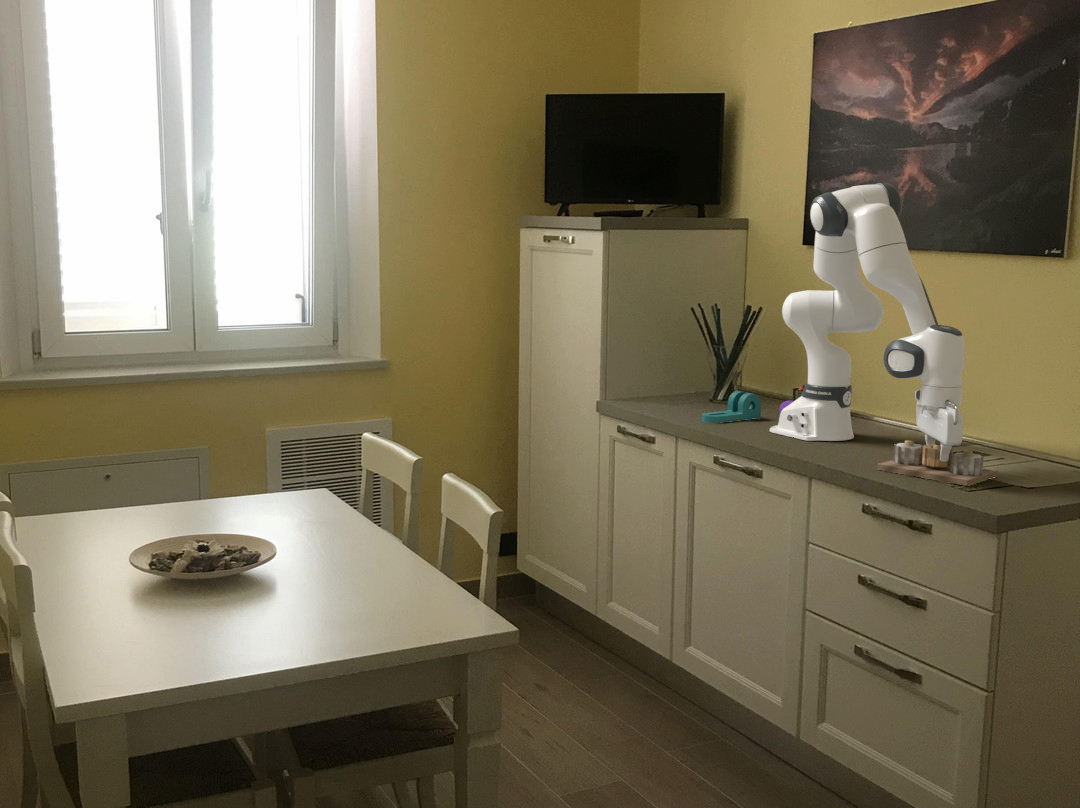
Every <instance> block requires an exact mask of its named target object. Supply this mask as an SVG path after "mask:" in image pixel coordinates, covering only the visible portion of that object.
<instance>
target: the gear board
mask: <svg viewBox="0 0 1080 808" xmlns="http://www.w3.org/2000/svg"><path fill="white" fill-rule="evenodd" d="M933 448H938V449H941V446H940V444H935V445H934V446H933ZM922 451H923V444H919V443H918V444H917V443H915V441H914V440H909V439H908V440H906V439H905V440H904V442H898V443H894V444H893V453H892V454H893V456H892V457H893V458H892V459H890V460H886V461H883V462H879V463H876V471H879V470H882V471H881V472H884V471H887V472H886V473H890V472H892V473H891V474H895V473H898V474H897V475H900V474H904V475H903V476H906V475H910V476H909V477H911V476H916V477H921V478H927V479H933V480H938V481H944V482H949V483H957V484H963V485H969V484H972V483H975V482H978V481H981V480H985V479H989V478H993V477H997V478H998V473H999V472H998V470H994V469H987V468H984V459H985V457H984V456H983V455H982V454H980V453H973V452H974V451H973V450H969V449H963V450H962V452H961V451H960V452H955V453H953V454H952V461H951V467H950V466H948V467H931V466H927V465H923V464H922ZM916 477H915V478H916ZM921 478H920V479H921ZM927 479H926V480H927Z"/></svg>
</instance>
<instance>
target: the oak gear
mask: <svg viewBox="0 0 1080 808" xmlns="http://www.w3.org/2000/svg"><path fill="white" fill-rule="evenodd" d="M922 446H923V451H922V464H923V465H927V466H931V467H948V466H950V467H951V461H952V454H954V447H953V446H952V448H951V451H950V453H949V460H948V461H947V462H942V461H940V460H939V459H938V457H939V453H940V450H941V449H938V448H933V446H934V444H929V445H926V444H922Z"/></svg>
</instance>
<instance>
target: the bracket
mask: <svg viewBox="0 0 1080 808" xmlns="http://www.w3.org/2000/svg"><path fill="white" fill-rule="evenodd" d="M761 409H762V400H761V398H760V396H759V395H757V394H756V393H752V392H745V391H740V390H735V391H733V392H732V393H730V395H729V396H728V400H727V410H720V411H712V412H704V413H701V422H702V421H703V422H702V423H704V422H709V423H708V424H711V423H720V422H729V421H737V420H745V419H752V418H760V419H761V415H762V414H761V413H762V412H761V411H762V410H761Z"/></svg>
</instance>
